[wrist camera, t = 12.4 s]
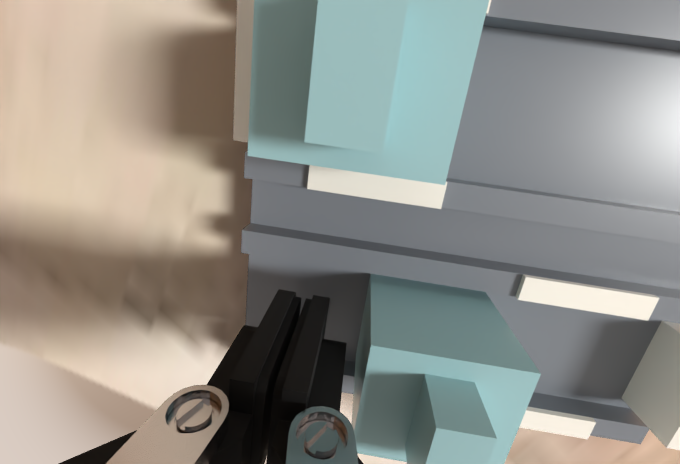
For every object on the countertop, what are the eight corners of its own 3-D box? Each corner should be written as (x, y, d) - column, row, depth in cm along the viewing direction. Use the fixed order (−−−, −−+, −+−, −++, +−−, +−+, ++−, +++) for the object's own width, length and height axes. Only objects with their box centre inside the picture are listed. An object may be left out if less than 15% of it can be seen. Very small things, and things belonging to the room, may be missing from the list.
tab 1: (302, 16, 9) (218, -115, 4) (443, 35, 9) (539, -78, 4) (291, 143, 10) (214, 165, 5) (417, 162, 10) (465, 202, 5)
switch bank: (276, -47, 10) (235, -121, 7) (796, 17, 9) (998, -33, 6) (253, 348, 15) (222, 407, 12) (600, 407, 14) (663, 486, 11)
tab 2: (370, 272, 12) (371, 394, 6) (484, 291, 12) (579, 430, 6) (356, 354, 13) (346, 513, 8) (459, 371, 13) (522, 546, 7)
